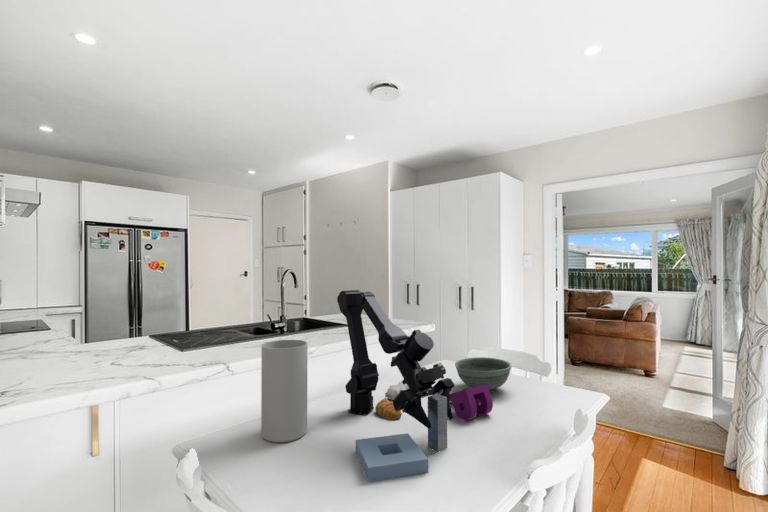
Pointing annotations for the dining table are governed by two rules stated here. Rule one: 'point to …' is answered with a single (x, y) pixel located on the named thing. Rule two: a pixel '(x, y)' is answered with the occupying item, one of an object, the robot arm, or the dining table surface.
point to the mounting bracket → (472, 402)
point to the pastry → (387, 410)
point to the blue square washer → (390, 457)
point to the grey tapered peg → (437, 422)
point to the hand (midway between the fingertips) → (441, 423)
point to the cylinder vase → (284, 390)
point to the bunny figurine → (396, 390)
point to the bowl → (483, 372)
